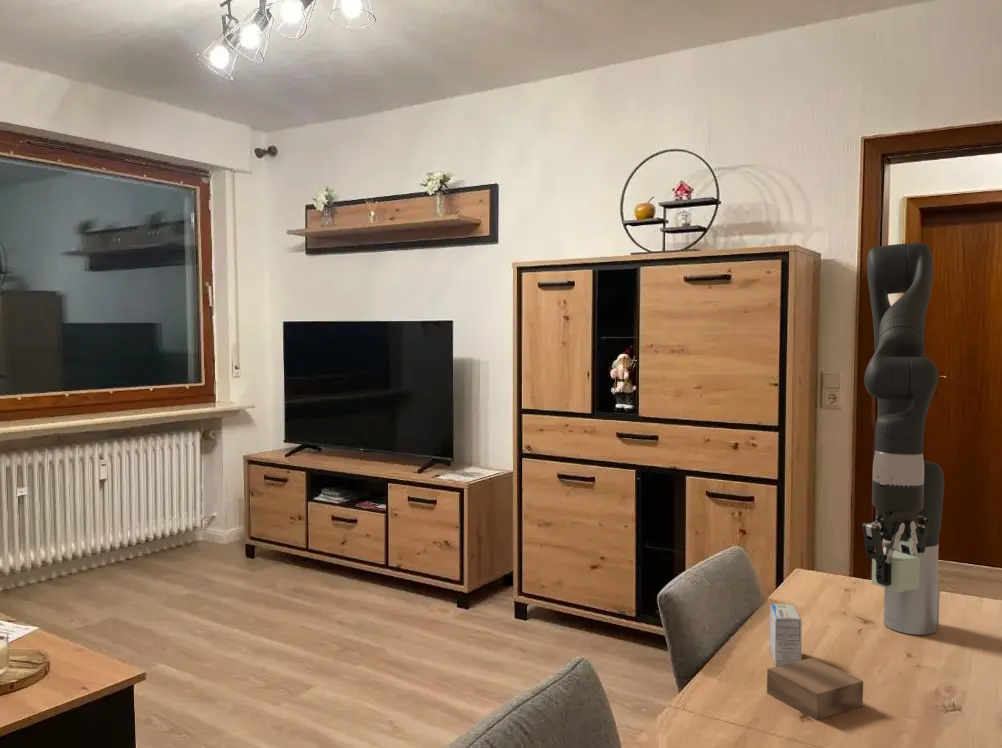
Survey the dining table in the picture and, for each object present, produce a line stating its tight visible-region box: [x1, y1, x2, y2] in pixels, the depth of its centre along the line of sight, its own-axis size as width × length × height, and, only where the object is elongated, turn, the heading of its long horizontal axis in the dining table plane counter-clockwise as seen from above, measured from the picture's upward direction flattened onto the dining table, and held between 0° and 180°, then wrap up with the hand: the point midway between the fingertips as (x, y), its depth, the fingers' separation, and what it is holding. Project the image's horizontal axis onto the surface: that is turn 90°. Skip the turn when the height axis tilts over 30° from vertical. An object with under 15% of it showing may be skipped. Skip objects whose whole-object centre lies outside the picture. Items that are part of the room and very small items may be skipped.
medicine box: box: [769, 603, 802, 667], centre depth 142 cm, size 8×4×9 cm, turn 168°
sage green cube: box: [871, 550, 920, 592], centre depth 131 cm, size 5×5×5 cm
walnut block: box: [766, 657, 864, 721], centre depth 126 cm, size 10×10×4 cm
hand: (895, 581), depth 131 cm, fingers closed on sage green cube, 5 cm apart
